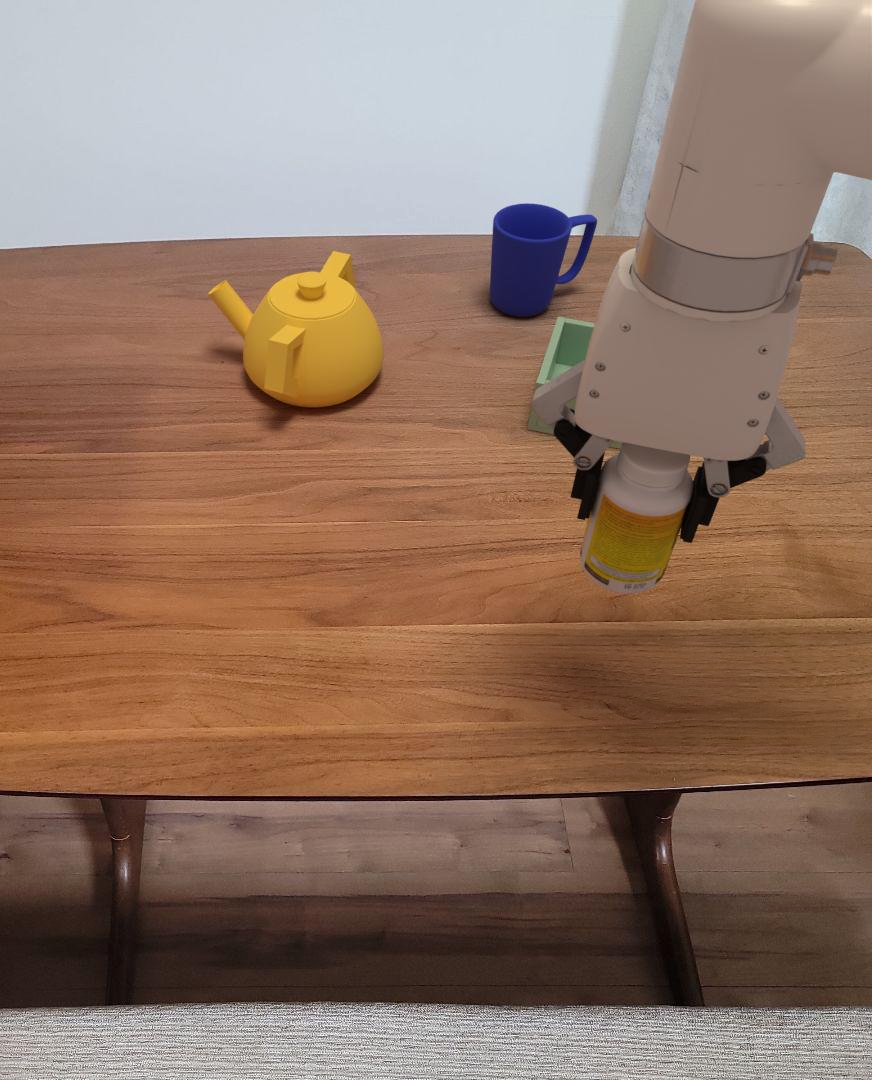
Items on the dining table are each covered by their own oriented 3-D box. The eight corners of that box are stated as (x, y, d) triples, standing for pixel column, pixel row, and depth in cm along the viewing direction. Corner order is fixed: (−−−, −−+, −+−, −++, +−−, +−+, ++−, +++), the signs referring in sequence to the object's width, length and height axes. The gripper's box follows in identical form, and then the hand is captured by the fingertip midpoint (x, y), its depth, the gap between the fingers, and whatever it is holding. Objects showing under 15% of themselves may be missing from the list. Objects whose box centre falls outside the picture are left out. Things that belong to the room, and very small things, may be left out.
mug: (599, 308, 104) (619, 225, 97) (504, 330, 101) (518, 247, 94) (560, 272, 109) (576, 191, 102) (469, 293, 106) (479, 210, 99)
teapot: (251, 303, 105) (244, 211, 97) (406, 333, 101) (412, 239, 93) (173, 407, 92) (158, 311, 84) (347, 447, 88) (349, 349, 80)
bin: (671, 386, 94) (687, 339, 90) (660, 457, 87) (676, 410, 83) (548, 362, 97) (557, 316, 93) (526, 429, 90) (536, 382, 86)
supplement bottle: (672, 598, 60) (717, 482, 52) (586, 598, 60) (618, 483, 53) (652, 535, 64) (691, 419, 56) (571, 536, 64) (599, 420, 56)
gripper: (901, 243, 46) (780, 505, 59) (552, 197, 50) (512, 451, 63) (913, 325, 41) (779, 591, 54) (526, 266, 45) (488, 526, 58)
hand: (636, 513), depth 58 cm, fingers closed on supplement bottle, 5 cm apart
